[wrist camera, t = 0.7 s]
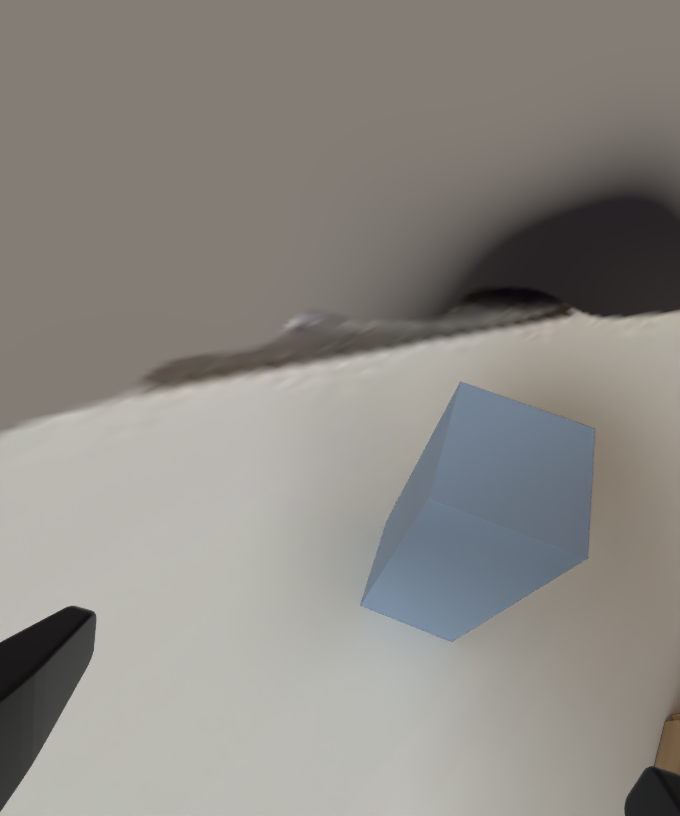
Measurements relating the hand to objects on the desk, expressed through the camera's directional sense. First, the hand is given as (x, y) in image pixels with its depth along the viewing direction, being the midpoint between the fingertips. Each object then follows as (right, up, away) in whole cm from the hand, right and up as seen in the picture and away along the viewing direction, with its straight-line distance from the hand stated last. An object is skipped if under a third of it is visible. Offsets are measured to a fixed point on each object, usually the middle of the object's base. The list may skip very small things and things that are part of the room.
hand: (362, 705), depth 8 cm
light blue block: (+3, -4, +17) cm, 18 cm away
